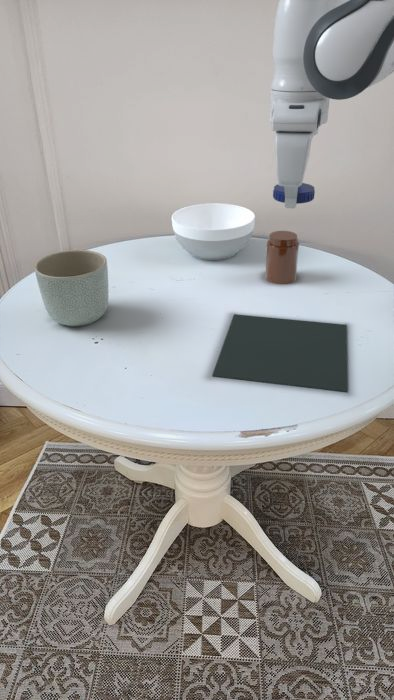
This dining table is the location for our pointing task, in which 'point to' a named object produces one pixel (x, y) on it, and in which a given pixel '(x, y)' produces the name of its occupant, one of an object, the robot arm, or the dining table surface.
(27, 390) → the dining table surface
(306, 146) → the robot arm
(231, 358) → the mat
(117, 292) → the dining table surface
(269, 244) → the jam jar
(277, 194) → the jam lid
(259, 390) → the dining table surface
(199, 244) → the bowl
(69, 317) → the planter
